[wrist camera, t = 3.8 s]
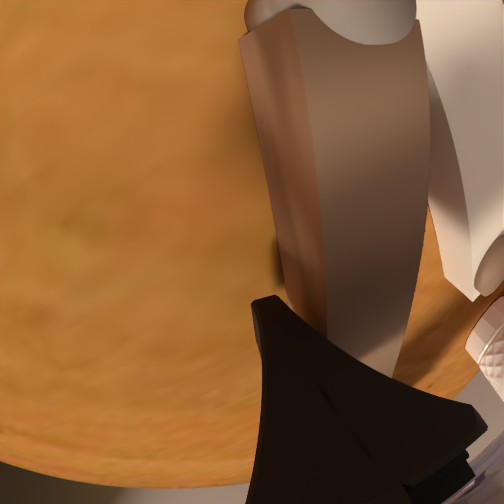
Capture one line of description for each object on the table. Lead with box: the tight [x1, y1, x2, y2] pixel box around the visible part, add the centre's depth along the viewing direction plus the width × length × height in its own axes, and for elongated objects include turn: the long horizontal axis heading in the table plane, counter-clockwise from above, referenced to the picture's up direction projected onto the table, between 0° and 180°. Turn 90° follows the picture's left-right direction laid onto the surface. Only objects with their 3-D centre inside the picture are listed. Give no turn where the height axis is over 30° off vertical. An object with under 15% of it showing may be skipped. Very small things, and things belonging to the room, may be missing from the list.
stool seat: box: [416, 0, 504, 302], centre depth 9 cm, size 15×10×3 cm, turn 36°
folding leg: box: [238, 0, 430, 378], centre depth 8 cm, size 15×3×4 cm, turn 12°
